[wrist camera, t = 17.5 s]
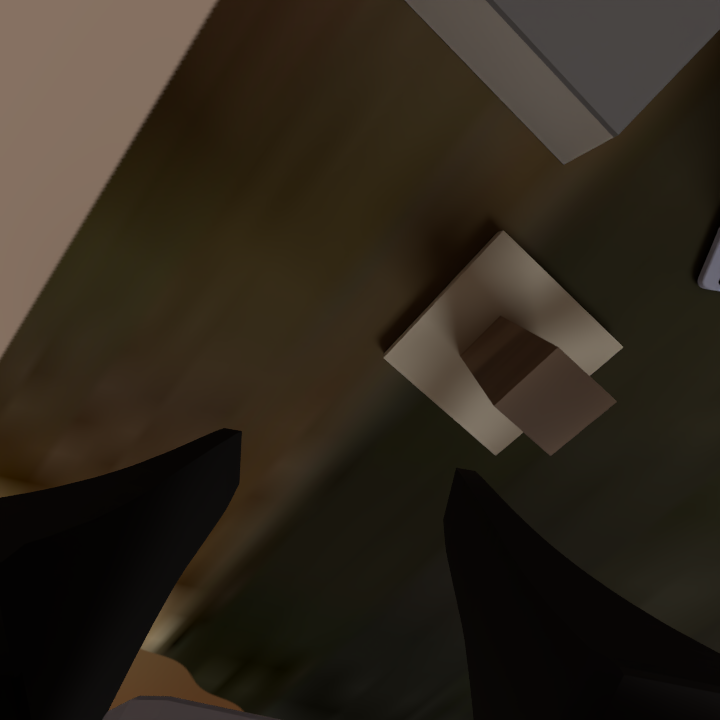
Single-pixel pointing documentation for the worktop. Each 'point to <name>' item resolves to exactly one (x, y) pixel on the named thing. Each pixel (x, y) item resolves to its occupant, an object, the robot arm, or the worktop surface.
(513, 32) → the switch box
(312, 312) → the worktop surface
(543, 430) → the brown rectangular block
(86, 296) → the worktop surface
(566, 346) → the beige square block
